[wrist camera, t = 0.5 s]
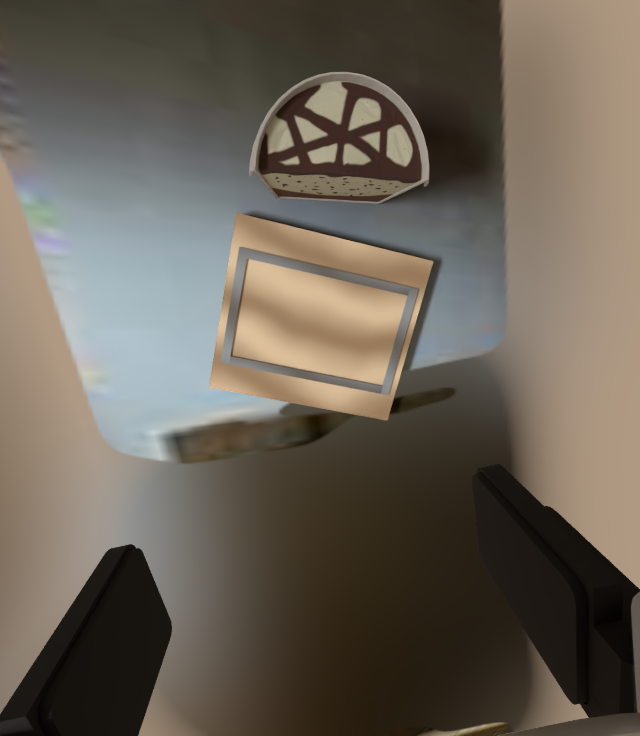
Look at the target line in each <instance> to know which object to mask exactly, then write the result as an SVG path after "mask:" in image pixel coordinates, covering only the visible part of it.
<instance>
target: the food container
mask: <svg viewBox="0 0 640 736" xmlns="http://www.w3.org/2000/svg"><path fill="white" fill-rule="evenodd" d="M429 169H430V168H429V158H428V150H427V146H426V142H425V138H424V135H423V133H422V130H421V128H420V125H419V123H418V121H417V119H416V118H415V116H414V114H413V113H412V111H411V109H410V108H409V107H408V106H407V104H406V103H405V102H404V101H403V100H402V98H401V97H400V96H399V95H397V94H396V93H395V92H394V91H393V90H392V89H390V88H389V87H388V86H386V85H384V84H382V83H381V82H379V81H377V80H375V79H373V78H370V77H367V76H365V75H362V74H356V73H350V72H330V73H325V74H320V75H316V76H314V77H311V78H308V79H306V80H303V81H302V82H300V83H299V84H297V85H295V86H294V87H292V88H291V89H289V90H288V91H287V92H286V93H285V94H284V95H283V96H281V97H280V98H279V99H278V101H277V102H276V103H275V104H274V106H273V107H272V108H271V109H270V110H269V112H268V114H267V115H266V117H265V119H264V121H263V122H262V124H261V126H260V129H259V132H258V134H257V137H256V140H255V142H254V145H253V150H252V154H251V159H250V169H249V176H252V174H253V172H256V173H257V175H258V176H259V177H260V178H261V180H262V181H263V182H264V183H265V185H266V186H267V187H268V188H269V190H270V191H271V192H272V193H273V195H274V196H275V197H276V198H281V199H299V200H316V201H334V202H351V203H368V204H381V203H383V202H385V201H387V200H389V199H391V198H393V197H395V196H397V195H399V194H402V193H404V192H406V191H408V190H410V189H412V188H414V187H416V186H418V185H420V184H422V183H424V187H426V186H427V184H428V183H429Z"/></svg>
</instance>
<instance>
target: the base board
mask: <svg viewBox="0 0 640 736" xmlns="http://www.w3.org/2000/svg"><path fill="white" fill-rule="evenodd" d="M433 262H434V261H430V260H426V259H422V258H418V257H414V256H410V255H406V254H402V253H398V252H394V251H390V250H386V249H382V248H378V247H374V246H369V245H365V244H361V243H357V242H353V241H349V240H345V239H341V238H337V237H333V236H329V235H325V234H321V233H317V232H313V231H309V230H305V229H300V228H296V227H292V226H288V225H284V224H280V223H276V222H272V221H268V220H264V219H260V218H256V217H252V216H248V215H244V214H240V213H236V219H235V226H234V232H233V238H232V245H231V251H230V258H229V264H228V270H227V277H226V283H225V289H224V296H223V302H222V308H221V315H220V321H219V327H218V334H217V340H216V346H215V353H214V359H213V366H212V372H211V378H210V385H209V387H210V388H215V389H220V390H226V391H231V392H236V393H242V394H247V395H253V396H258V397H263V398H269V399H274V400H280V401H285V402H290V403H296V404H301V405H306V406H312V407H318V408H323V409H328V410H333V411H339V412H344V413H349V414H355V415H360V416H366V417H371V418H376V419H382V420H388V417H389V413H390V410H391V406H392V403H393V399H394V396H395V392H396V389H397V386H398V382H399V379H400V375H401V372H402V368H403V365H404V362H405V358H406V355H407V351H408V348H409V344H410V341H411V337H412V334H413V330H414V327H415V324H416V320H417V317H418V313H419V310H420V306H421V303H422V299H423V296H424V293H425V289H426V286H427V282H428V279H429V275H430V272H431V268H432V265H433Z"/></svg>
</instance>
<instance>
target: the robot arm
mask: <svg viewBox="0 0 640 736" xmlns="http://www.w3.org/2000/svg"><path fill="white" fill-rule="evenodd" d="M472 486H473V496H474V505H475V516H476V526H477V536H478V547H479V554H480V558H481V561H482V563H483V565H484V567H485V569H486V570H487V572H488V573H489V575H490V576H491V578H492V580H493V581H494V583H495V584H496V586H497V587H498V589H499V591H500V592H501V594H502V595H503V597H504V598H505V600H506V602H507V603H508V605H509V606H510V608H511V610H512V611H513V613H514V614H515V616H516V618H517V619H518V621H519V622H520V624H521V625H522V627H523V629H524V630H525V632H526V633H527V635H528V636H529V638H530V640H531V641H532V643H533V644H534V646H535V647H536V649H537V651H538V652H539V654H540V655H541V657H542V659H543V660H544V662H545V663H546V665H547V666H548V668H549V670H550V671H551V673H552V674H553V676H554V677H555V679H556V681H557V682H558V684H559V685H560V687H561V688H562V690H563V692H564V693H565V695H566V696H567V698H568V699H569V700H570V701H571V702H572V703H573V704H574V705H575V704H580V705H581V706H582V708H583V709H584V711H585V712H586V714H587V715H588V717H589V718H585V719H579V720H573V721H568V722H564V723H559V724H553V725H548V726H544V727H538V728H533V729H529V730H523V731H518V732H513V733H508V734H503V735H498V736H640V589H639V588H638V587H636V586H635V585H634V584H633V583H632V582H631V581H630V580H629V579H628V578H627V577H626V576H625V575H624V574H623V573H622V572H621V571H619V570H618V569H617V568H616V567H615V566H614V565H613V564H612V563H611V562H610V561H609V560H608V559H607V558H606V557H604V556H603V555H602V554H601V553H600V552H599V551H598V550H597V549H596V548H595V547H594V546H593V545H592V544H591V543H590V542H588V541H587V540H586V539H585V538H584V537H583V536H582V535H581V534H580V533H579V532H578V531H577V530H576V529H575V528H573V527H572V526H571V525H570V524H569V523H568V522H567V521H566V520H565V519H564V518H563V517H562V516H561V515H560V514H559V513H557V512H556V511H555V510H554V509H552V508H551V507H548V506H543V505H542V504H541V503H540V502H539V501H538V500H537V499H536V498H535V497H534V496H533V495H532V494H531V493H530V492H529V491H528V490H527V489H526V488H525V487H523V486H522V485H521V484H520V483H519V482H518V481H517V480H516V479H515V478H514V477H513V476H512V475H511V474H510V473H509V472H508V471H507V470H506V469H505V468H504V467H503V466H501V465H500V464H495V465H490V466H486V467H481V468H478V470H477V474H475V475H473V476H472ZM171 632H172V625H171V620H170V617H169V615H168V613H167V610H166V608H165V605H164V603H163V600H162V598H161V595H160V593H159V591H158V588H157V586H156V583H155V581H154V578H153V576H152V574H151V571H150V569H149V566H148V564H147V562H146V559H145V557H144V554H143V552H142V550H141V549H139V548H137V549H136V547H135V546H134V545H131V544H129V545H125V546H121V547H116V548H111V549H109V550H108V551H107V552H106V553H105V555H104V556H103V558H102V559H101V561H100V562H99V564H98V565H97V567H96V569H95V570H94V572H93V573H92V575H91V576H90V578H89V579H88V581H87V582H86V584H85V585H84V587H83V588H82V590H81V592H80V593H79V594H78V596H77V598H76V599H75V601H74V602H73V604H72V605H71V607H70V608H69V610H68V611H67V613H66V614H65V616H64V617H63V619H62V621H61V622H60V624H59V625H58V627H57V628H56V630H55V631H54V633H53V634H52V636H51V637H50V639H49V640H48V642H47V644H46V645H45V646H44V649H43V650H42V651H41V653H40V655H39V656H38V657H37V659H36V660H35V662H34V663H33V665H32V666H31V668H30V669H29V671H28V673H27V674H26V676H25V677H24V679H23V680H22V682H21V683H20V685H19V686H18V688H17V689H16V691H15V693H14V694H13V696H12V697H11V699H10V700H9V702H8V703H7V705H6V706H5V708H4V709H3V711H2V712H1V714H0V736H138V734H139V731H140V728H141V725H142V722H143V719H144V716H145V713H146V710H147V707H148V704H149V701H150V698H151V695H152V692H153V689H154V686H155V683H156V680H157V677H158V674H159V671H160V668H161V665H162V662H163V659H164V656H165V653H166V649H167V646H168V644H169V641H170V637H171Z"/></svg>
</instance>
